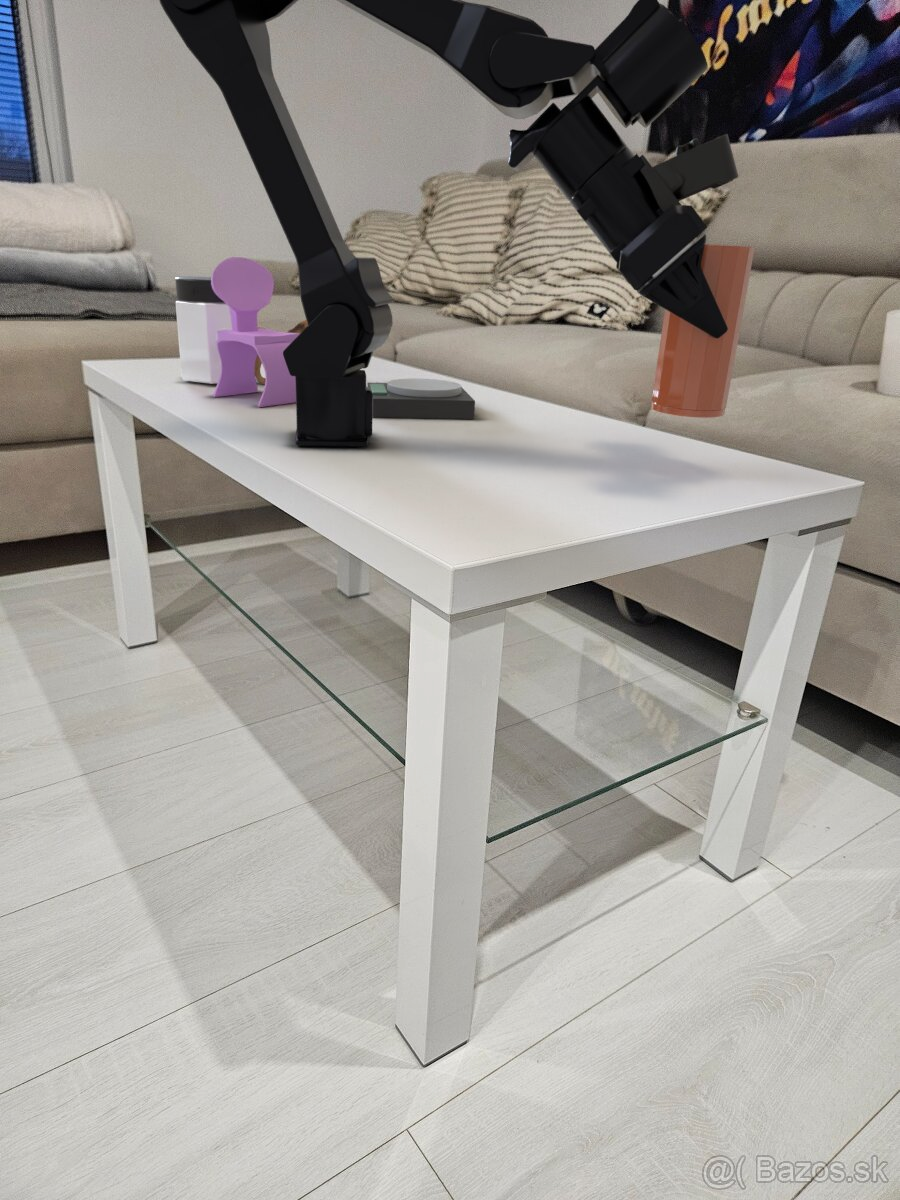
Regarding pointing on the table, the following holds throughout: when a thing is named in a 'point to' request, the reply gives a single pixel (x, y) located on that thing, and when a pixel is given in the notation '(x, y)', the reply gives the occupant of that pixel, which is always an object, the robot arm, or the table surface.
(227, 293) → the toy chair
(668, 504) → the table surface
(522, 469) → the table surface
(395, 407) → the scale
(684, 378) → the cup
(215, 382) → the jar
